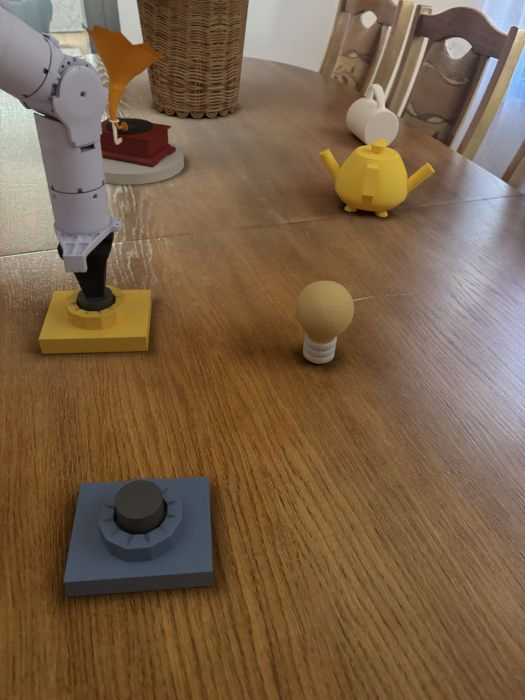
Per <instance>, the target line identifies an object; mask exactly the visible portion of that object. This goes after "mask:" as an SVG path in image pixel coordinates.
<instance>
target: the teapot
mask: <svg viewBox="0 0 525 700" xmlns="http://www.w3.org/2000/svg"><path fill="white" fill-rule="evenodd" d="M387 141H388V140H385V139H378V140H377V141H374V142H372V143H371V145H366V144H365V145H361V146H358V147H357V148H355V149H354V150H353V151H352V152H351V154H349V156H348V157H347V158H346V160H344V162H343V163H342V165H341V166H340V165H339V164H338V162H337V160H336V158H335V157H334V155H333V153H332V152H331V150H330V148H329V147H328V148H326V149H324V150H322V151H321V152H320V153H318V157H319V159H320V161H321V162H322V163H323V165H324V167H325V168H326V170H327V171H328V173H329V175H330V177H331V178H332V179H333V181H334V189H335V192H336V195H338V197H339V198H340V200H341V201H342V202H343V203H344V204H345V207H344V210H345V211H346V212H351V213H353V212H354V213H355V212H357V211H358V210H362V211H368V212H374V215H375V216H377V217H380V218H381V217H382V218H386V217H388V211H391V210H393V209H395V208H396V207H398V206H400V205H401V203H403V202H404V201H405V200H406V199H407V196H408V194H409V193H410V192H411V191H413V190H414V189H415V188H416V187H418V186H419V185H420V184H422V183H423V182H424V181H425V180H427V179H428V178H429V177H430V176H432V175H433V174H434V173H436V172H435V169H434V168H433V166H432V165H431V164H430V163H428V162H426V163H424V164H423V165H422V166H421V167H420V168H419V169H418V170H416V171H415V172H414V173H413V174H411V176H409V177H408V172H407V169H406V167H405V163H404V161H403V159H402V156H401V155H400V153H399V152H398V151H397V150H395V149H393V148H391V147H388V146H387Z"/></svg>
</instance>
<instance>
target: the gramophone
mask: <svg viewBox="0 0 525 700" xmlns="http://www.w3.org/2000/svg"><path fill="white" fill-rule="evenodd" d="M82 26H83V29H84V30H85V31H86V32H87V33H88V35H89V36H90V37H91V39H92V41H93V44H94V46H95V48H96V50H97V54H98V56H99V58H100V60H101V62H102V64H103V65H104V68H105V70H106V73H107V76H108V80H109V87H108V105H107V106H108V109H107V111H108V116H109V118H106V119H104V120H103V121H101V128H102V134H101V135H100V144H101V151H102V159H103V167H104V174H105V182H106V184H113V185H121V186H122V185H123V186H124V185H125V186H126V185H127V186H128V185H130V186H131V185H132V186H133V185H144V184H150V183H151V184H152V183H158V182H162V181H164V180H167V179H172V178H173V177H175V176H177V175H179V174H180V173H181V171H182V170H183V169H184V168H185V157H184V156H185V155H184V150H183V149H182V148H181V147H180V146H179V145H177V144H175V143H172V142H171V141H169V129H171V127H172V125H168V124H163V123H156V122H151V121H149V120H147V119H143V118H137V117H118V116H117V109H118V107H119V105H120V104H119V103H120V101H121V99H122V95H123V94H124V91H125V89H126V87H127V86H128V85H129V83H130V82H131V81H133V80H134V79H135V78H136V77H138V76H139V75H141V74H142V73H143V72H144V71H145V70H147V68H148V67H149V66H150V65H151V64H152V63H154V62H155V61H156V60H158V59H161V58H164V57H163V56H162V55H163V54H164V52H154V51H153V50H152V48H151V47H150V45H149V44H148V42H147V43H143V42H141V43H134V44H133V42H131V41H130V40H129V39H128V38H127V37H126V35H124V34H123V32H121V31H117V30H110V29H107V28H104V27H102V26H100V25H97V24H93V27H92V30H91V29H89V28H88V27H87V26H85V25H84V24H82Z"/></svg>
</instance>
